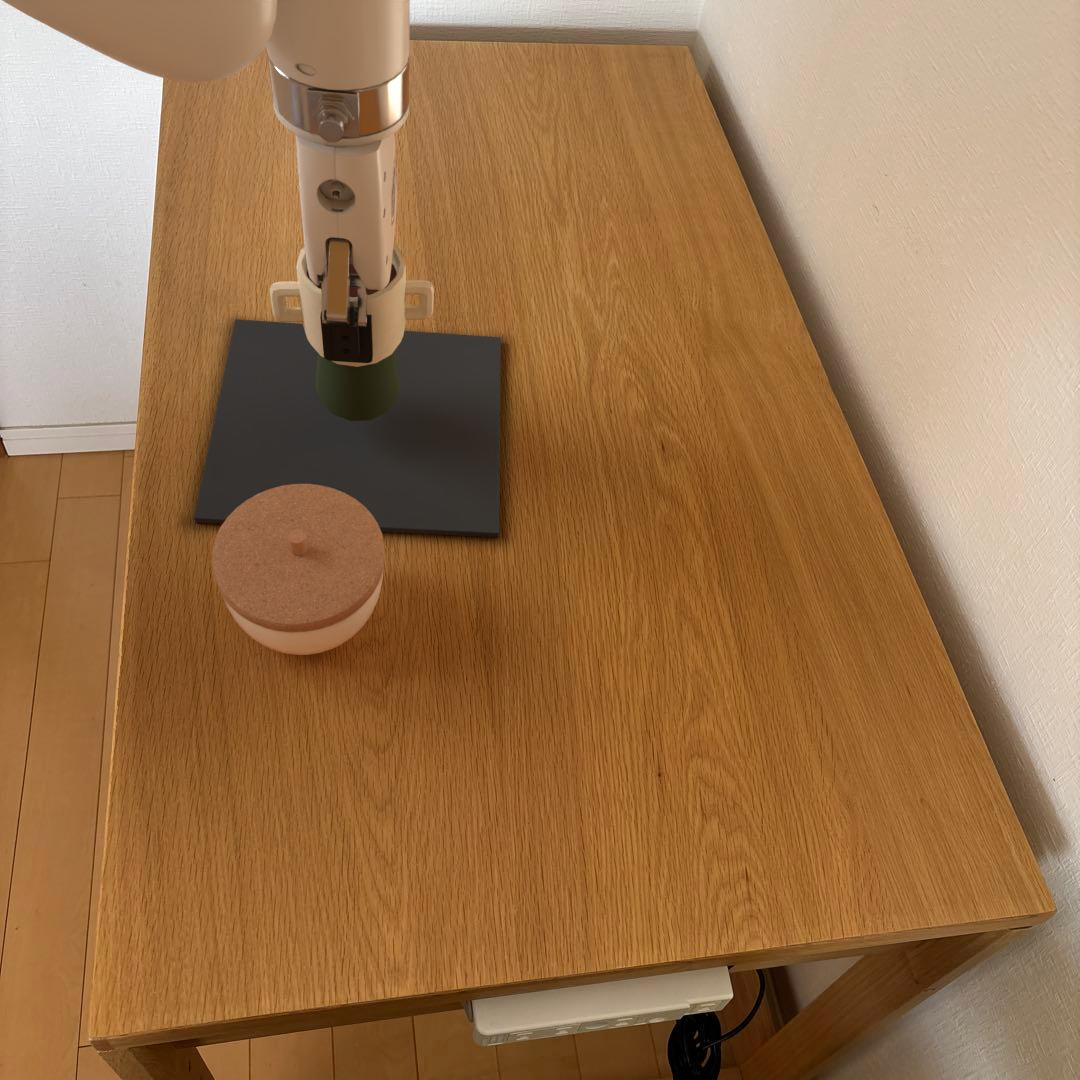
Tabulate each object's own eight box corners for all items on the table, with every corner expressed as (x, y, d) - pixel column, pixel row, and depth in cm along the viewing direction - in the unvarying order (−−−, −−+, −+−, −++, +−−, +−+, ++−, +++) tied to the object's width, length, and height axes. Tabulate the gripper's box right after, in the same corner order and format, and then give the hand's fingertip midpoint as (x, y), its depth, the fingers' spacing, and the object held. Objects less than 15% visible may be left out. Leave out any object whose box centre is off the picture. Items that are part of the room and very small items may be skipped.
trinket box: (216, 564, 72) (193, 486, 65) (365, 531, 75) (361, 452, 68) (244, 698, 67) (223, 630, 59) (403, 657, 70) (403, 588, 62)
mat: (195, 522, 74) (193, 518, 74) (236, 324, 85) (235, 318, 85) (498, 537, 76) (499, 533, 76) (500, 341, 87) (500, 337, 87)
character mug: (427, 358, 80) (430, 225, 70) (434, 428, 77) (439, 300, 66) (285, 361, 79) (265, 226, 68) (285, 433, 75) (265, 302, 64)
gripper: (399, 189, 52) (400, 416, 67) (417, 1, 61) (415, 236, 76) (248, 177, 51) (283, 409, 66) (289, -11, 61) (312, 228, 75)
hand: (353, 315), depth 71 cm, fingers closed on character mug, 7 cm apart
